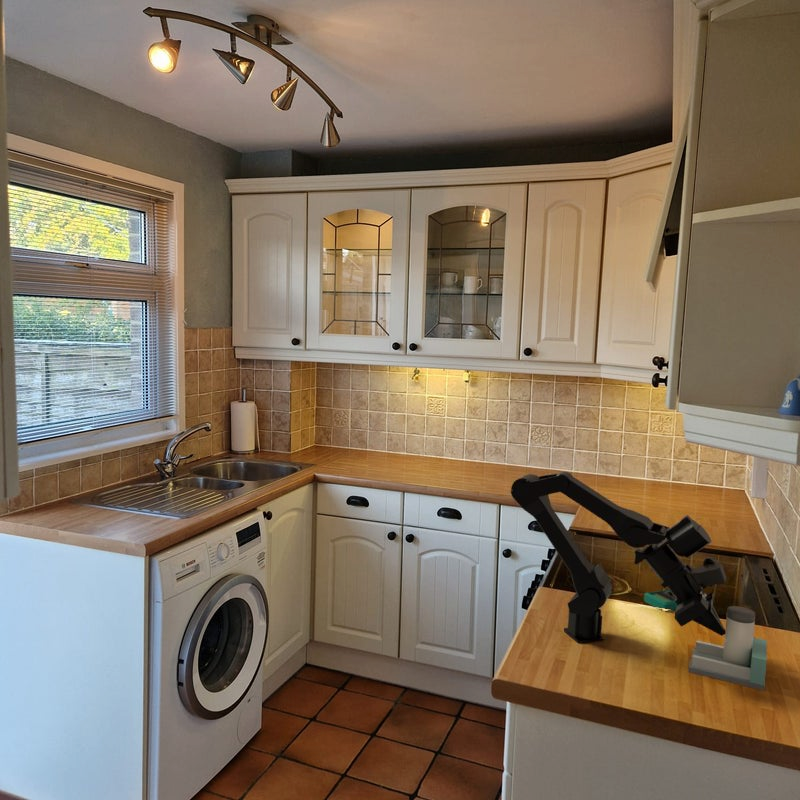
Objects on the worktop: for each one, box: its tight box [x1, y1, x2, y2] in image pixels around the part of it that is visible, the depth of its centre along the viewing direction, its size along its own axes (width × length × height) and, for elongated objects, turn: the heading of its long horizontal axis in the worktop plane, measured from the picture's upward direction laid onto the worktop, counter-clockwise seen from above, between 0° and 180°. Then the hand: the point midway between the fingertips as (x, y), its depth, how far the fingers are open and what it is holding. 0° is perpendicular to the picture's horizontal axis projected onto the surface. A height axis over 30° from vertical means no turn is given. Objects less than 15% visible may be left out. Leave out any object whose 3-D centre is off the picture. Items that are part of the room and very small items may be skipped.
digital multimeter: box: [643, 589, 682, 611], centre depth 170 cm, size 7×15×3 cm, turn 113°
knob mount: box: [688, 636, 768, 691], centre depth 135 cm, size 13×10×6 cm
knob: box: [723, 605, 756, 668], centre depth 134 cm, size 5×5×11 cm
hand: (724, 634), depth 135 cm, fingers closed, pressing on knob
